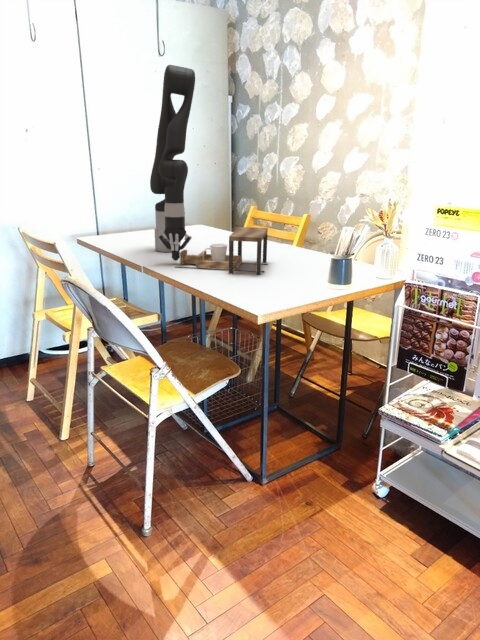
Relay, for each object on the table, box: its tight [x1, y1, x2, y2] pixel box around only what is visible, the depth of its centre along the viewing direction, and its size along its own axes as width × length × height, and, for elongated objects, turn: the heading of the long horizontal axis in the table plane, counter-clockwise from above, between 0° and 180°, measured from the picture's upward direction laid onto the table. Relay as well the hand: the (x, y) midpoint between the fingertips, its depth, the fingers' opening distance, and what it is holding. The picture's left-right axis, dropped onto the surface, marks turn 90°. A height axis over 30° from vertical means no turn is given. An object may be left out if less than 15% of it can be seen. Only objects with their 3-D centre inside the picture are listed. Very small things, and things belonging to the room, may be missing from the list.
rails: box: [174, 262, 269, 273], centre depth 192 cm, size 34×13×1 cm, turn 81°
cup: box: [202, 242, 229, 262], centre depth 192 cm, size 7×10×8 cm
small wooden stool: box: [228, 226, 269, 276], centre depth 189 cm, size 12×22×14 cm, turn 171°
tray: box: [179, 249, 243, 270], centre depth 192 cm, size 22×13×4 cm, turn 81°
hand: (175, 259), depth 194 cm, fingers closed
